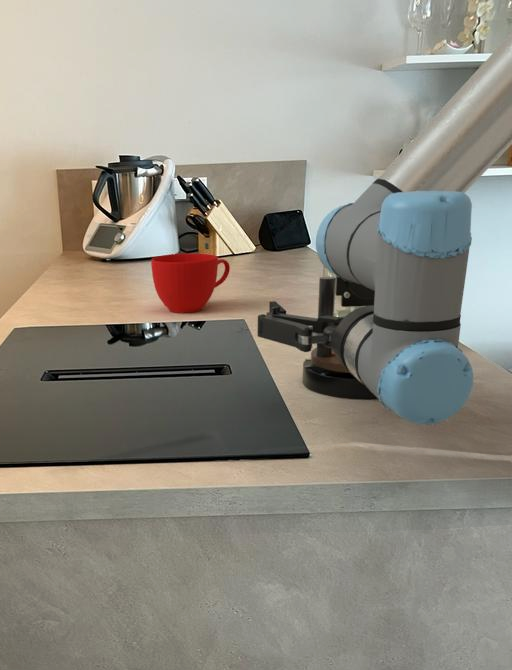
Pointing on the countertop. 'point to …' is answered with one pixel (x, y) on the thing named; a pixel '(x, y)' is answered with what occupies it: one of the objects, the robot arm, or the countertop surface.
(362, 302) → the ball valve
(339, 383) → the disc
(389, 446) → the countertop surface
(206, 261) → the ceramic cup
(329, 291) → the pointer wheel
